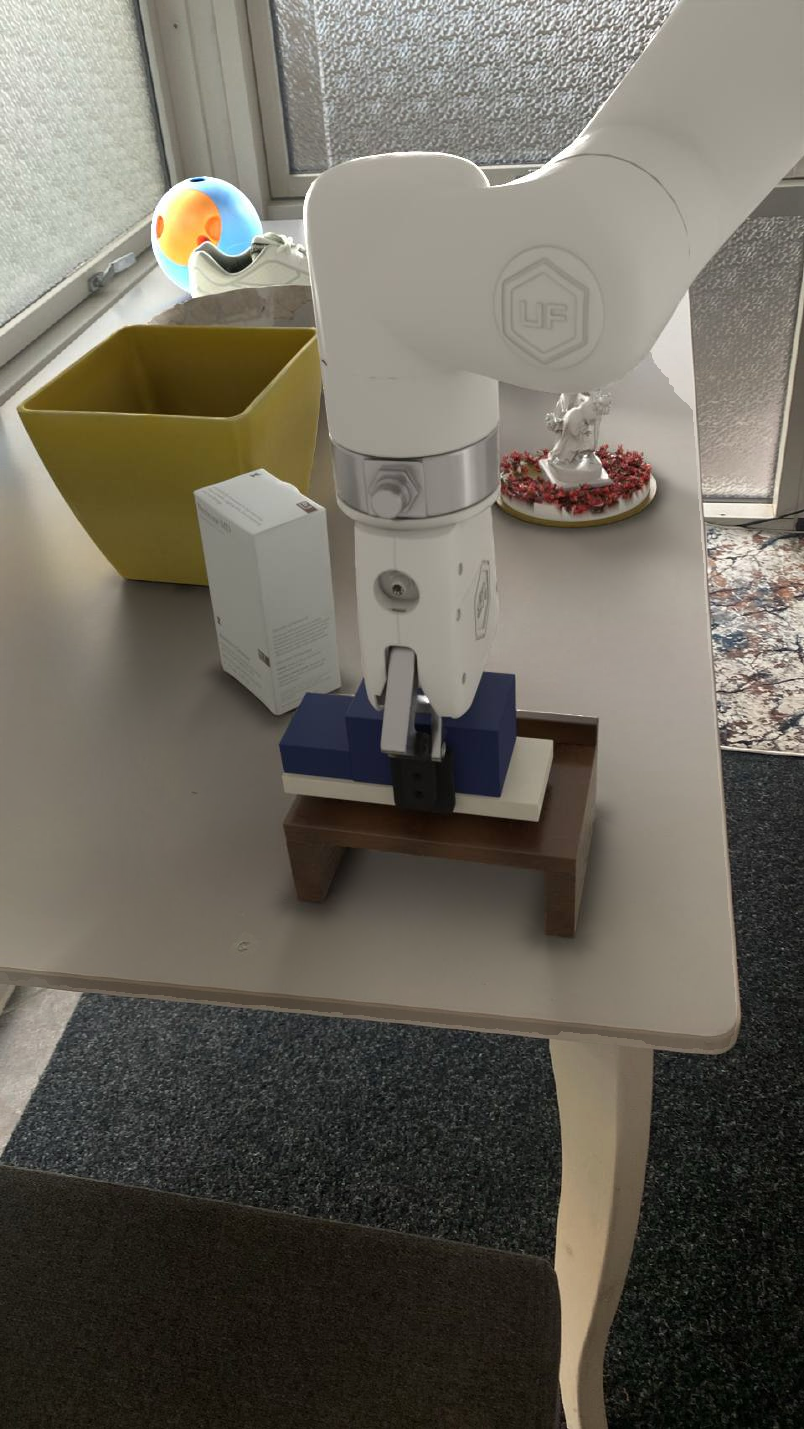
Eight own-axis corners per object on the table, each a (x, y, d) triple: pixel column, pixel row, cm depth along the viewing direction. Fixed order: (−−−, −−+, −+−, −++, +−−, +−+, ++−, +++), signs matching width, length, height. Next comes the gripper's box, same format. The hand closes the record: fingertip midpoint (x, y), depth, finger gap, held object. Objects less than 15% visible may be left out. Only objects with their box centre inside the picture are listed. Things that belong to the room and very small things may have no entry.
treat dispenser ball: (285, 278, 166) (270, 165, 156) (246, 311, 154) (226, 192, 145) (190, 277, 170) (170, 167, 160) (145, 310, 158) (120, 194, 149)
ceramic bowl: (384, 425, 119) (375, 331, 113) (167, 459, 116) (146, 365, 110) (349, 357, 136) (340, 273, 130) (160, 385, 133) (142, 300, 127)
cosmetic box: (221, 671, 84) (183, 490, 75) (289, 640, 87) (260, 462, 78) (280, 721, 78) (246, 532, 69) (350, 687, 81) (326, 500, 72)
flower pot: (274, 616, 90) (240, 417, 79) (66, 598, 95) (8, 408, 84) (347, 507, 104) (326, 326, 94) (163, 496, 109) (123, 324, 99)
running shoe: (420, 338, 140) (413, 237, 132) (186, 355, 141) (167, 256, 134) (420, 310, 149) (414, 214, 141) (200, 326, 150) (183, 231, 143)
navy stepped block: (553, 756, 62) (553, 674, 59) (538, 822, 58) (538, 737, 55) (314, 732, 65) (302, 653, 62) (284, 792, 61) (269, 711, 58)
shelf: (595, 814, 68) (599, 716, 64) (574, 938, 61) (576, 836, 56) (346, 787, 72) (332, 692, 68) (296, 899, 64) (277, 801, 60)
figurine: (626, 445, 110) (633, 298, 101) (680, 513, 98) (693, 353, 89) (477, 466, 109) (471, 319, 100) (513, 537, 97) (510, 378, 88)
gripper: (458, 562, 43) (475, 892, 54) (529, 391, 56) (531, 685, 67) (274, 551, 45) (326, 872, 55) (385, 388, 58) (409, 674, 69)
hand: (438, 767), depth 61 cm, fingers closed on navy stepped block, 5 cm apart
